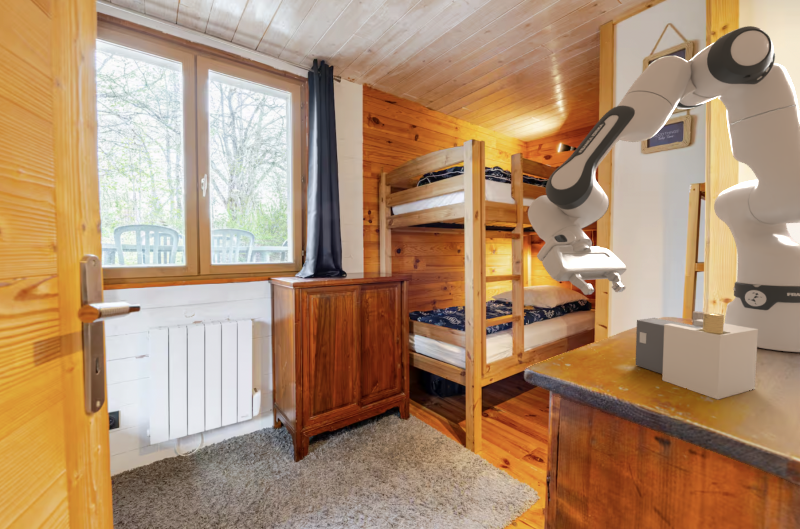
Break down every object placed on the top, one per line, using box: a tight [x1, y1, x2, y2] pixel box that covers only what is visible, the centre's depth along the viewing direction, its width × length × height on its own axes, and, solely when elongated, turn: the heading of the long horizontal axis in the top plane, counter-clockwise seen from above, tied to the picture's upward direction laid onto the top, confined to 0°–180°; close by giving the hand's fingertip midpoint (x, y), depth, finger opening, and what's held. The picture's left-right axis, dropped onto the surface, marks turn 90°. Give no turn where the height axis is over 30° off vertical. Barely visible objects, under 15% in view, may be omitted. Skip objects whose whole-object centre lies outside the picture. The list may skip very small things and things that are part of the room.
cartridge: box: [635, 317, 703, 375], centre depth 63 cm, size 5×9×9 cm, turn 20°
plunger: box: [703, 312, 725, 335], centre depth 55 cm, size 2×2×6 cm
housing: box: [662, 319, 758, 400], centre depth 58 cm, size 10×8×10 cm
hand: (606, 291), depth 75 cm, fingers open, 8 cm apart
